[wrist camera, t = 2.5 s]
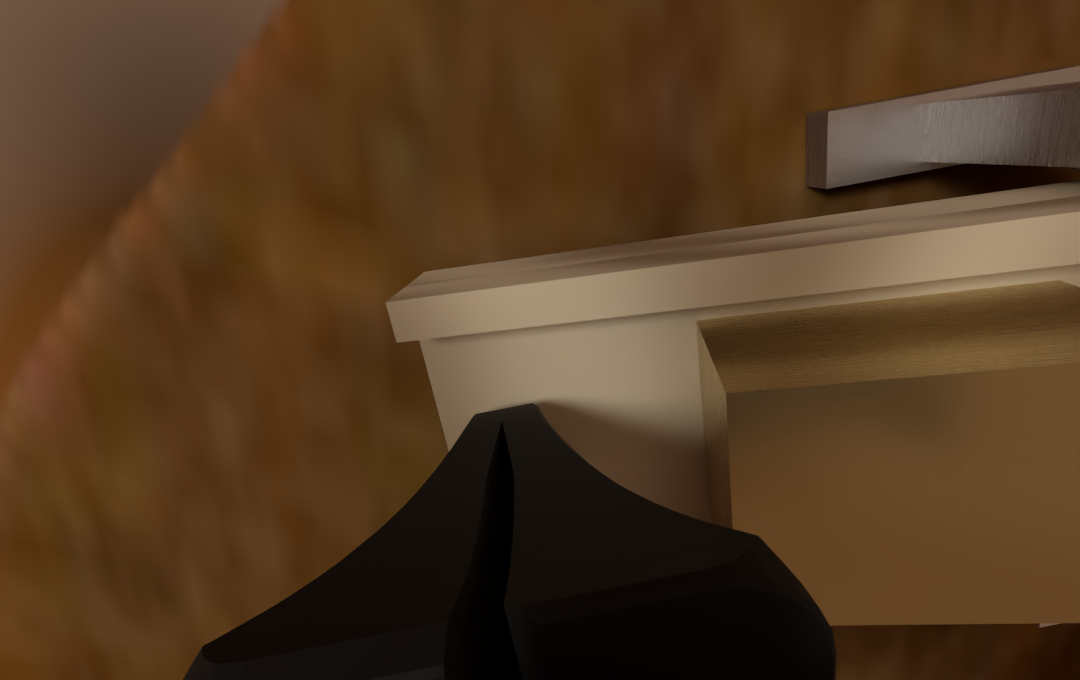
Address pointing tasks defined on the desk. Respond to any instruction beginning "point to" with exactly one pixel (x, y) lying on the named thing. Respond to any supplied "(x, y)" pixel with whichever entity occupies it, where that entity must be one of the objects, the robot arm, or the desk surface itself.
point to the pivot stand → (950, 131)
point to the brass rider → (906, 451)
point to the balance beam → (697, 316)
